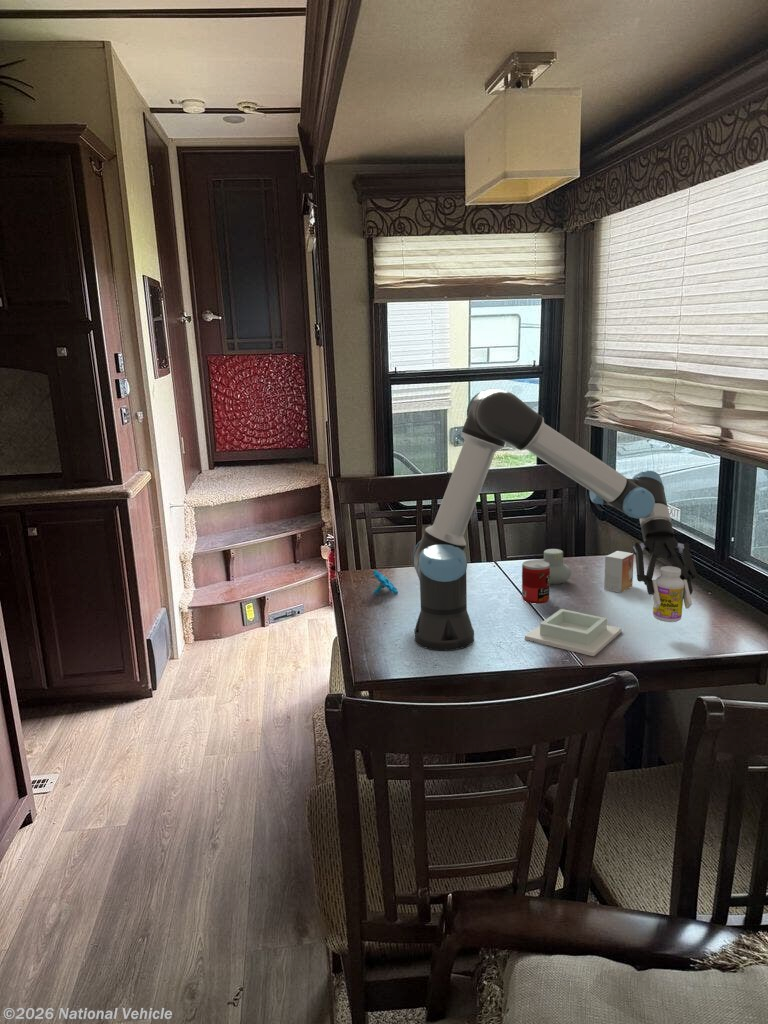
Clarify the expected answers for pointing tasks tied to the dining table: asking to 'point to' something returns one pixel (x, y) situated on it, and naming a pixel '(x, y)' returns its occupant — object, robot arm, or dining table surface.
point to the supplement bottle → (669, 595)
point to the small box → (618, 571)
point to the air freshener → (557, 566)
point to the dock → (574, 632)
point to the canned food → (535, 581)
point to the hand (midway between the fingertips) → (673, 606)
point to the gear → (384, 583)
